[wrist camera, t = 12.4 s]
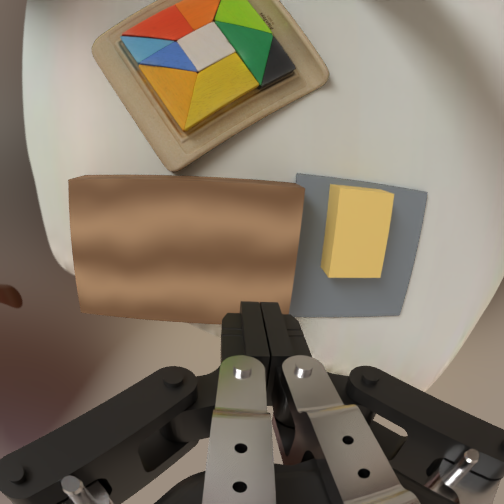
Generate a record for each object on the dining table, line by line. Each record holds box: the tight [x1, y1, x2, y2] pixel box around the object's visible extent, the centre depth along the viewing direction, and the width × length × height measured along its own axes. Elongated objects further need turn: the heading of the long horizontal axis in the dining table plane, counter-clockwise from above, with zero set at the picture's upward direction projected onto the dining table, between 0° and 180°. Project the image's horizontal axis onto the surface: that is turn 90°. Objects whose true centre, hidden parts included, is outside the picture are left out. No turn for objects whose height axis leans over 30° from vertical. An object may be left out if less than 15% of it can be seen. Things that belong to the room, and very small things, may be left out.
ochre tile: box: [320, 184, 394, 278], centre depth 31 cm, size 9×6×3 cm, turn 177°
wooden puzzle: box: [92, 0, 329, 172], centre depth 25 cm, size 18×19×4 cm
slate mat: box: [289, 174, 427, 317], centre depth 34 cm, size 16×16×1 cm
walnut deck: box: [68, 175, 305, 324], centre depth 30 cm, size 14×22×4 cm, turn 85°
